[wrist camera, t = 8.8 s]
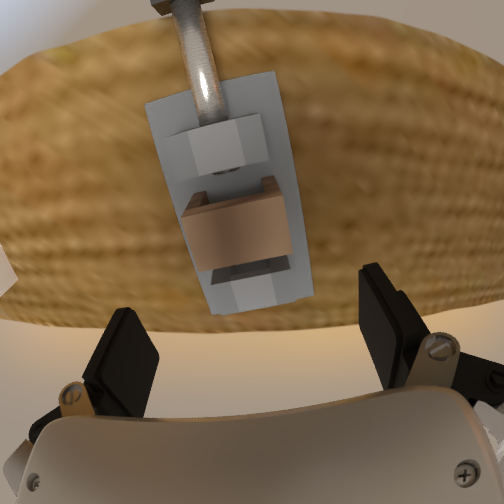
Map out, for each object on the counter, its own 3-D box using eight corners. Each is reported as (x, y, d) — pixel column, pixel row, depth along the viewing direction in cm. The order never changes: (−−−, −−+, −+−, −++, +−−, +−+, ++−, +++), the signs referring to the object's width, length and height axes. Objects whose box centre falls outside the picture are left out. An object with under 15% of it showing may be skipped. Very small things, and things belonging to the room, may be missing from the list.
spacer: (274, 175, 22) (282, 195, 17) (282, 222, 24) (293, 253, 19) (193, 193, 23) (180, 218, 18) (206, 238, 24) (198, 272, 20)
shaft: (209, -19, 14) (205, -33, 12) (253, 161, 21) (255, 168, 19) (157, -4, 14) (147, -16, 12) (201, 173, 21) (195, 182, 19)
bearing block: (273, 71, 19) (281, 62, 15) (312, 291, 28) (323, 323, 24) (146, 104, 20) (124, 104, 15) (212, 311, 29) (208, 344, 25)
